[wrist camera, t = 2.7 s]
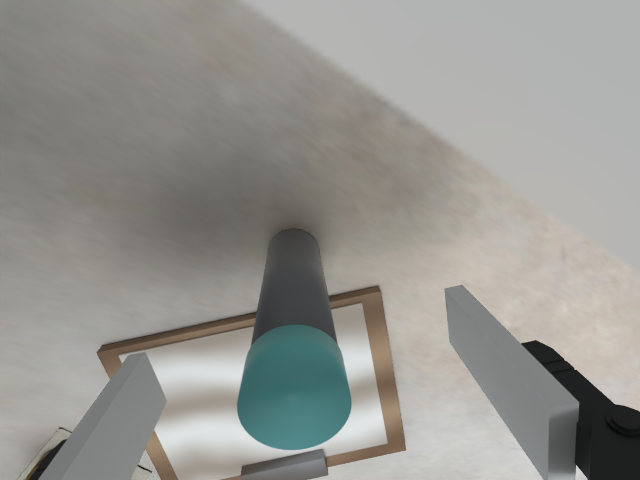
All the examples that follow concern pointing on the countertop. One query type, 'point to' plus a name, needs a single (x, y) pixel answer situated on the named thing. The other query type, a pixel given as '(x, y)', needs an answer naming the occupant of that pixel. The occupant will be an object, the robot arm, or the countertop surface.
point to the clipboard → (223, 390)
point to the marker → (294, 353)
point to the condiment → (138, 476)
